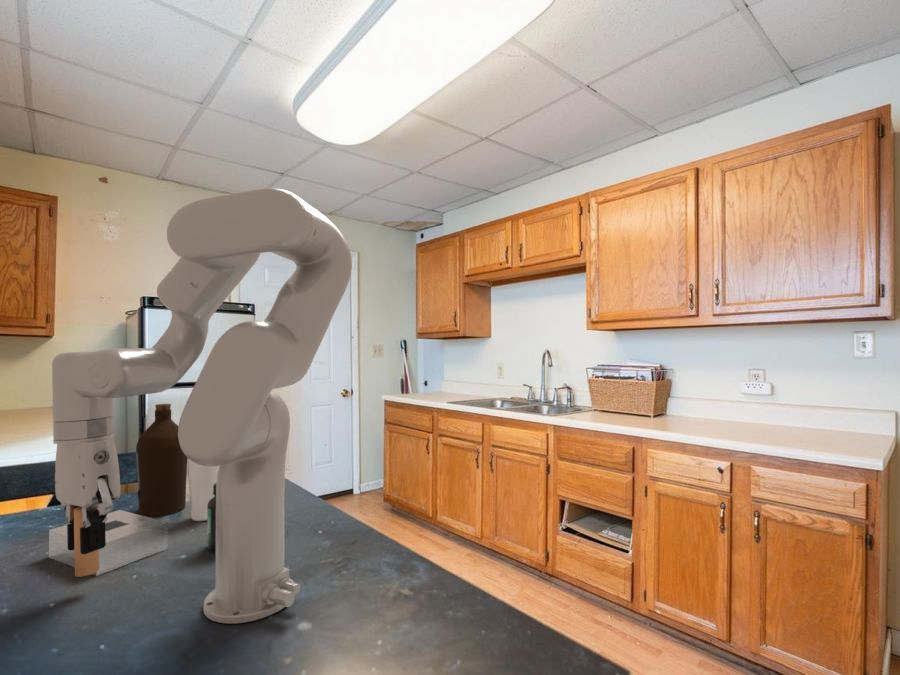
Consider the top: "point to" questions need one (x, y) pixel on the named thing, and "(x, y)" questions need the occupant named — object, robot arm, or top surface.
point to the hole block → (116, 541)
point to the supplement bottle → (211, 522)
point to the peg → (83, 562)
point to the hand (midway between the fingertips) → (86, 547)
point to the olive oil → (161, 467)
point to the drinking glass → (201, 488)
